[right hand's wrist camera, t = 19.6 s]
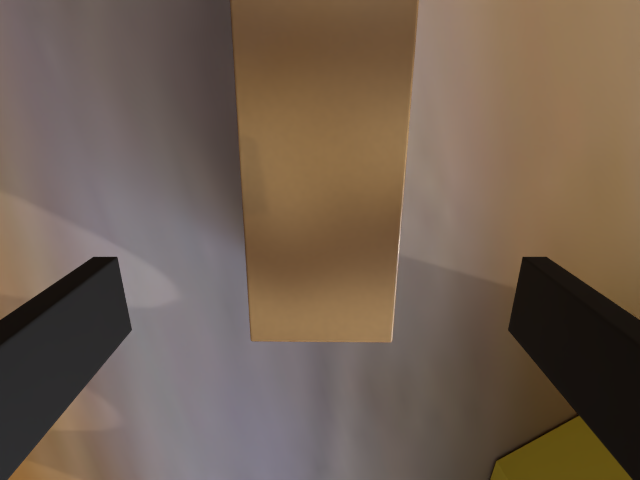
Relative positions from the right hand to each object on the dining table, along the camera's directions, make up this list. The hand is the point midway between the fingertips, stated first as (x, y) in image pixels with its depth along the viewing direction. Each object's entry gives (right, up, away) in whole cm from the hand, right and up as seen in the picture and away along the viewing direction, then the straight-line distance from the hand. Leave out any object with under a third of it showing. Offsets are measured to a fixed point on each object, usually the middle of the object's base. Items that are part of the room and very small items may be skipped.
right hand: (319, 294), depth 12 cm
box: (0, +11, +8) cm, 14 cm away
